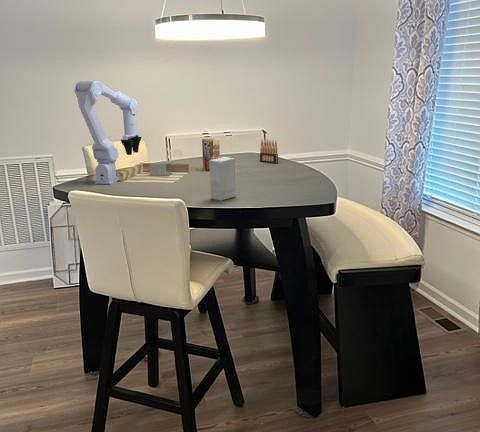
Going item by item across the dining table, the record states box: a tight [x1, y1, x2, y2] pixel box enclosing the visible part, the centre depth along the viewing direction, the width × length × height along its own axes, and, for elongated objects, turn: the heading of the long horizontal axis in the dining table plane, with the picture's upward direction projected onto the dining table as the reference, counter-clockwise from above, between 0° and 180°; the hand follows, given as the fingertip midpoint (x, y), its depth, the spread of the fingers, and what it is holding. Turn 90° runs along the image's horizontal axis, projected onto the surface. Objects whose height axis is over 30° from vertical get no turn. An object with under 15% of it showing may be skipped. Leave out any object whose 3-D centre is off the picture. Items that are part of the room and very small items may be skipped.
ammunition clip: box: [259, 139, 279, 165], centre depth 261 cm, size 11×2×12 cm, turn 49°
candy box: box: [201, 138, 221, 173], centre depth 242 cm, size 9×4×15 cm, turn 39°
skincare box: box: [209, 156, 237, 201], centre depth 189 cm, size 8×6×15 cm
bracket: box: [149, 162, 171, 176], centre depth 233 cm, size 8×6×5 cm
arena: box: [119, 162, 190, 184], centre depth 229 cm, size 24×24×5 cm
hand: (132, 153), depth 238 cm, fingers open, 7 cm apart
